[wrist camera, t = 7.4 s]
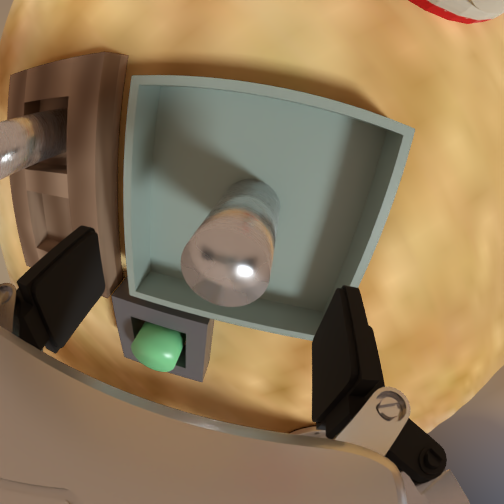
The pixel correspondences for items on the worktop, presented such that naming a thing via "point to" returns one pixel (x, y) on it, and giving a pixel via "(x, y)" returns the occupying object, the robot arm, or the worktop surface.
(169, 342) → the button
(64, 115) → the cylinder
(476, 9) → the kitchen timer
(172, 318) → the button console
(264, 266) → the billet
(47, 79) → the board
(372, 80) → the worktop surface
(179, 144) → the tote
